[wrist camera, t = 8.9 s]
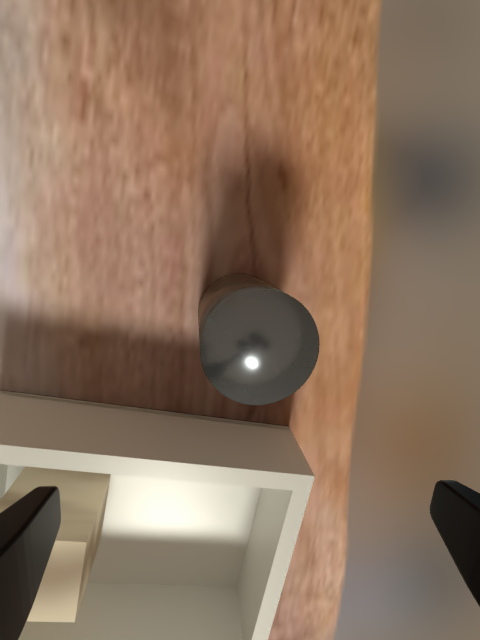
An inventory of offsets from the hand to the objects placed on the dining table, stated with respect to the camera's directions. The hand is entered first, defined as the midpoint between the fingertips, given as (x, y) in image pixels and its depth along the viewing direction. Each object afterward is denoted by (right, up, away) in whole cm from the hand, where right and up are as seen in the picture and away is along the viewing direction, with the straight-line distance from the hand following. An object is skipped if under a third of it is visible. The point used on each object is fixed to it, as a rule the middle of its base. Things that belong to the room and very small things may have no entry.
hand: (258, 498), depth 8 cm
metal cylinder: (0, +5, +13) cm, 13 cm away
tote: (-7, -8, +15) cm, 18 cm away
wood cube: (-12, -7, +13) cm, 19 cm away
